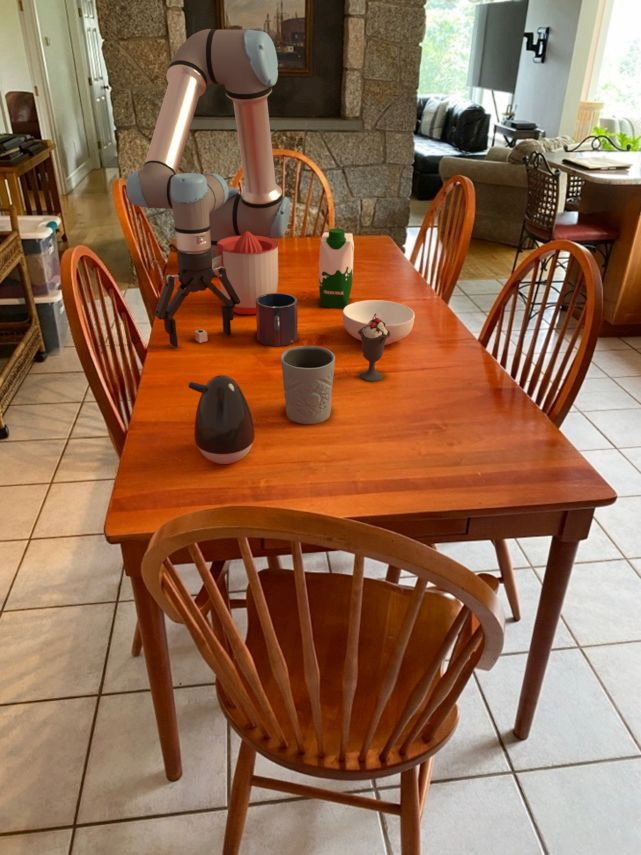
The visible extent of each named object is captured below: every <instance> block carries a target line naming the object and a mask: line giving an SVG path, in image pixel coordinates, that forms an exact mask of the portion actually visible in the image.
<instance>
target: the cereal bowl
mask: <svg viewBox="0 0 641 855" xmlns="http://www.w3.org/2000/svg"><path fill="white" fill-rule="evenodd" d="M342 309H343V310H342V323H343V327H344V329H345V331H346V332H347V333H348V334H349V335H351V336H352V337H353V338H355V339H357V340H359V341H360V342H362V340H361V335H359V334H358V331H359V330H360V329H361V328H363V327H366V326H367V325H368V323H369V322H370V321H371V320H372V319H375V317H376V318H379V319H380V320H381V321H383V322H384V323H385V328H386V329H388V330H389V332H390V337H388V338H386V341H385V345H384V346H388V345H390V344H393V343H395V342H399V341H401V340H403V339H405V338H406V337H407V336H408V335H409V334H410V333H411V331H412V330H413V327H414V324H415V320H416V319H415V318H416V316H415V312H414V310H413V309H412V308H411V307H409V306H408V305H405V304H403V303H400V302H395V301H391V300H381V299H369V300H368V299H367V300H361V301H356V302H355V301H354V302H351V303H348V305H347V306H346V307H345V308H342ZM375 313H376V316H374V314H375ZM373 317H374V318H373Z"/></svg>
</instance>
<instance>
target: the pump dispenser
mask: <svg viewBox="0 0 641 855" xmlns="http://www.w3.org/2000/svg"><path fill="white" fill-rule="evenodd" d="M187 385H188V389H191V390H193V391H196V392H198V393H200V397H199V400H198V403H197V406H196V410H195V416H194V417H195V418H194V428H193V429H194V430H193V432H194V433H193V436H194V442H195V445H196V446H197V448H198V450H199V452H201V454H202V456H203V457H205V458H206V459H207V460H208V461H210V462H212V463H214V464H219V465H220V464H221V465H223V464H224V465H227V464H229V465H230V464H233V463H236V462H238V461H240V460H242V459H243V458H245V457H246V456H247V454H248V453H249V452H250V450H251V448H252V446H253V443H254V441H255V438H256V432H255V430H256V429H255V425H254V420H253V415H252V411H251V408H250V405H249V403H248V400H247V398H246V396H245V394H244V392H243V390H242V389H241V387H240V385H239V384H238V383H237V382H236V381H235V380H234V378H232V377H230V376H228V375H224V374H220V375H216V376H213V377H211V378H210V379H209V380H208V381H207V383H206V384H202V383H198V382H194V381H189V383H188V384H187Z"/></svg>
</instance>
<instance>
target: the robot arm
mask: <svg viewBox="0 0 641 855" xmlns="http://www.w3.org/2000/svg"><path fill="white" fill-rule="evenodd" d="M276 50H277V49H276V47H275V44H274V41H273V40H272V38H271V37H270V35H269V33H267V32H265V31H263V30H253V29H249V28H248V29H214V28H207V29H202V30H200V31H197V32H195V33H193V34H192V35H190V37H188V38H186V40H185V41H183V43H181V45H180V46H179V47H178V48H177V49H176V51H175V53H174V54H173V56H172V58H171V60H170V62H169V65H168V67H167V71H166V74H165V76H166V81H167V83H168V84H167V87H166V90H165V94H164V96H163V100H162V104H161V107H160V110H159V114H158V118H157V120H156V123H155V127H154V130H153V133H152V134H153V135H152V137H151V140H150V144H149V148H148V151H147V154H146V157H145V161H144V164H143V167H142V170H141V171H140V170H139V171H133V172H130V174H129V175H128V176H127V178H126V184H125V192H126V195H127V199H128V200H129V201H130V203H131V204H132V205H133V206H135V207H140V208H145V209H162V210H163V209H165V210H172V214H173V224H174V236H175V244H174V243H169V245H168V248H169V249H171V248H173V249H174V250H176V259H177V267H178V268H177V269H178V271H177V272H178V273H177V274H170V273H166V274H165V275H164V285H163V289H162V291H161V294H160V297H159V300H158V302H157V306H156V308H155V311H154V316H155V317H156V318H157V319H159V320H160V321H161V320H163V325H164V326H163V327H164V331H165V332H166V333H167V334H168V335H169V344H170V345H171V346H172V347H173V348H178V347H179V345H178V335H177V326H176V319H175V318H174V316H175V315H176V313H177V311H178V310H179V309H180V307H181V305H182V304H183V302H184V301H185V299H186V297H188V296H189V295H190V293H197V292H199V291H200V292H203V291H204V292H205V291H206V290H207V289H209V290H210V291H211V293H212V294H214V296H216V297H217V298H218V299H219V301H221V302H222V303H223V304H224V305H222V306H221V316H222V318H221V319H222V332H223V333H224V334H226V335H227V336H231V335H232V324H231V321H233V320H234V312H233V309H234V308H235V305H236V304H239V303H240V299H239V297H238V296H237V294H236V292H235V290H234V288H233V287H232V285H231V283H230V281H229V280H228V278H227V274H226V269H225V268H223V267H222V266H220V265H218V266H217V267H216V268H212V259H213V258H215V257H218V253H217V243H218V242H219V241H220V240H222V239H225V238H229V237H234V236H242V235H243V234H244V233H245V232H247V231H248V232H250V233H251V234H252V235H253V236H263V237H269V238H272V239H281V238H283V237H284V235H285V234H286V231H287V229H288V225H289V221H290V216H291V215H290V214H291V201H290V200H291V199H290V198H289V197H288V196H283V189H282V187H281V186H280V185H279V184H277V181H276V173H275V172H276V171H275V163H274V153H273V144H272V135H271V126H270V124H271V123H270V114H269V106H268V97H269V96H270V94H272V92H273V86H275V85H276V83H277V81H278V78H279V77H278V76H279V71H278V68H279V61H278V55H277V51H276ZM209 85H223V86H224V90H225V95H226V97H228V99H230V100H231V101H232V103H233V109H234V110H233V112H234V118H235V123H236V124H235V125H236V132H237V139H238V145H239V152H240V160H241V166H242V167H241V168H242V174H243V182H244V187H243V189H242V190H241V192H240V191H239V189H238V188H237V187H233V186H228V182H226V180H225V179H224V178H223V177H222V176H221V175H220V174H217V173H205V174H201V173H197V172H182V173H178V172H179V168H180V164H181V160H182V158H183V154H184V151H185V147H186V143H187V140H188V136H189V132H190V129H191V125H192V122H193V119H194V115H195V113H196V108H197V106H198V101H199V98H200V97H201V96H203V95H204V94H205V92H206V89H207V86H209ZM214 277H217V278H218V279H219V282H220V281H221V283H222V284H223V286H224V288H225V290H226V291H227V293H228V295H229V297H230V298H231V299H230V300H229V299H228V298H227V297H226V296H225V295H224V294H223V293H222V290H220V289H219V288H218V287H217V286H216V284H214V283H213V282H212V280H214ZM178 282H179V283H180V284H179V285H178V287H177V291H176V292H175V294H174V290H175V286H176V285H177V284H178ZM173 294H174V296H173V297H172V295H173ZM171 298H172V299H171Z"/></svg>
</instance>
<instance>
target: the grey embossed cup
mask: <svg viewBox="0 0 641 855" xmlns="http://www.w3.org/2000/svg"><path fill="white" fill-rule="evenodd" d="M335 363H336V356H335V354H334V353H333V351H331V350H329V349H328V348H325V347H321V346H315V345H301V346H295V347H291V348H288V349H286V350H285V351H283V352H282V353H281V355H280V365H281V366H280V367H281V374H282V383H283V390H284V402H285V412H286V416H287V418H288V419H289V420H291V422H294V423H297V424H302V425H317V424H321V423H323V422H325V421H327V420H328V419H329V417H330V416H331V413H332V396H333V385H334V384H333V383H334V376H335V375H334V374H335V366H336V364H335Z"/></svg>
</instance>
